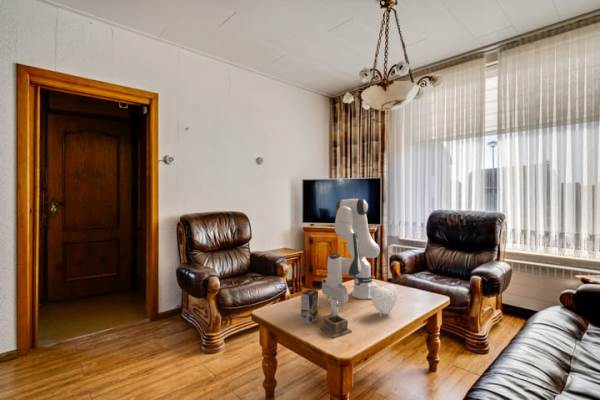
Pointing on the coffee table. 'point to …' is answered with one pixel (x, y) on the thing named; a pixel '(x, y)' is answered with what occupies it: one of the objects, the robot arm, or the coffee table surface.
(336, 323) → the walnut roll holder
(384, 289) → the decorative heart
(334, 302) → the paper roll
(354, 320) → the coffee table surface
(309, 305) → the coffee box
